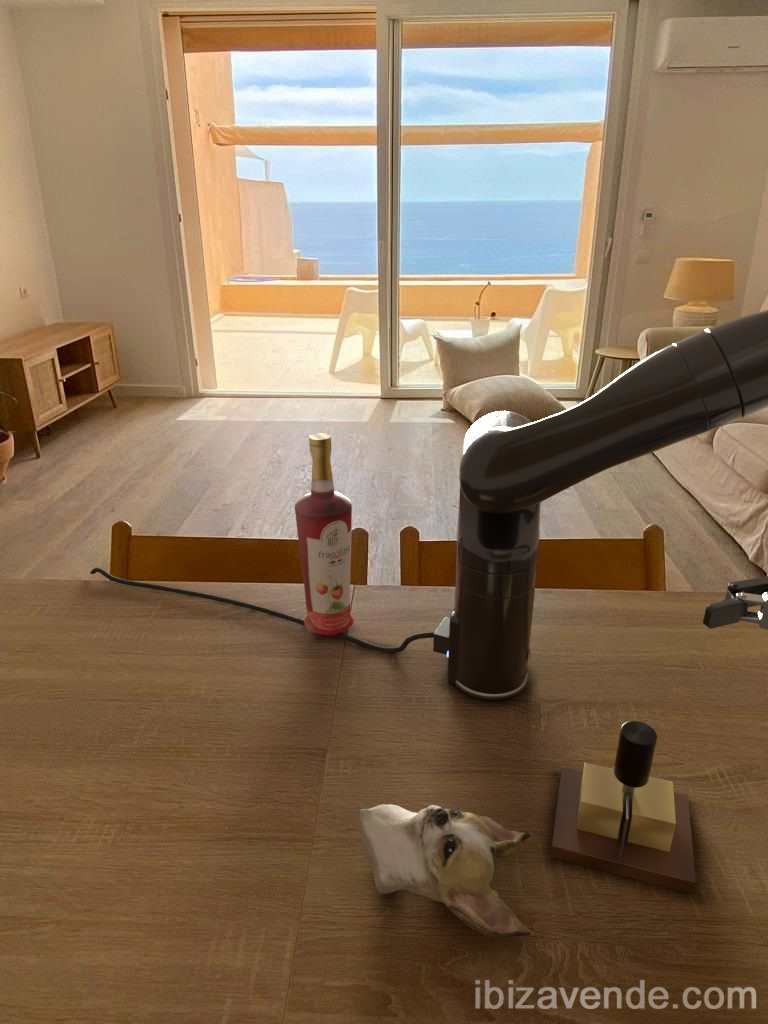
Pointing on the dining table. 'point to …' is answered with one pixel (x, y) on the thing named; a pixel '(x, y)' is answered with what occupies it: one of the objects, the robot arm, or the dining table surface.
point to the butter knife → (633, 762)
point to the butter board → (629, 853)
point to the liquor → (325, 546)
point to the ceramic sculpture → (443, 861)
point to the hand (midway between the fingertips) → (742, 643)
